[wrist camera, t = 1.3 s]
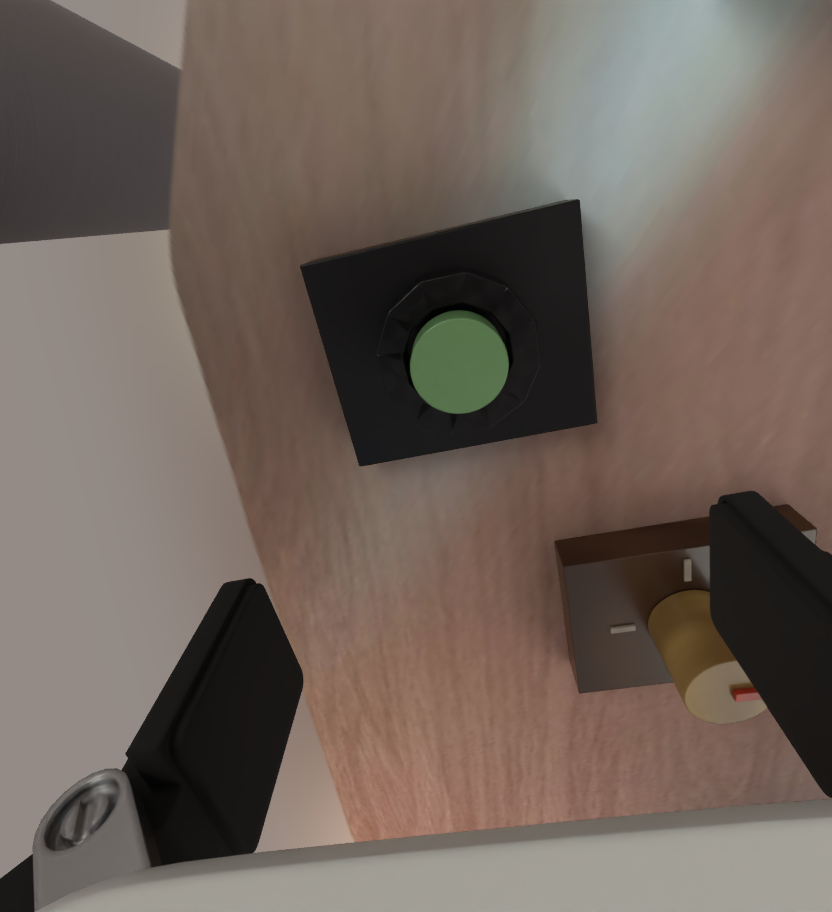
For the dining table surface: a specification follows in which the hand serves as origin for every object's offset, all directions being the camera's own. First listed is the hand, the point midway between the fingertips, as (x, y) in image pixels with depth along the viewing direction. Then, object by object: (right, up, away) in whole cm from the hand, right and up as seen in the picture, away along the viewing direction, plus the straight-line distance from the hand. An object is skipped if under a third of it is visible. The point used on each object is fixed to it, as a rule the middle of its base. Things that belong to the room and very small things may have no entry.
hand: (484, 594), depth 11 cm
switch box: (+1, +9, +15) cm, 17 cm away
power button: (0, +7, +12) cm, 14 cm away
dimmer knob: (+14, -6, +19) cm, 24 cm away
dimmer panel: (+14, -5, +21) cm, 26 cm away
